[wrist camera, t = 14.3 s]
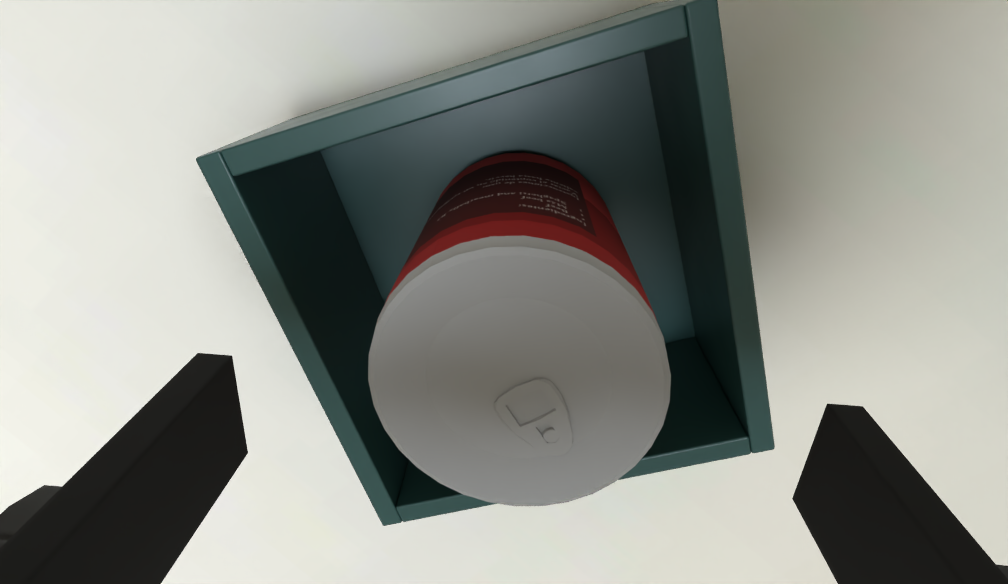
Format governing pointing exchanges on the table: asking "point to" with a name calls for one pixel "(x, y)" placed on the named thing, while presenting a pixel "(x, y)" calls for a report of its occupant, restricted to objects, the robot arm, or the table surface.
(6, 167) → the table surface
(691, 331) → the bin
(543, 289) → the canned food
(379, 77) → the table surface
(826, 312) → the table surface
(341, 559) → the table surface
